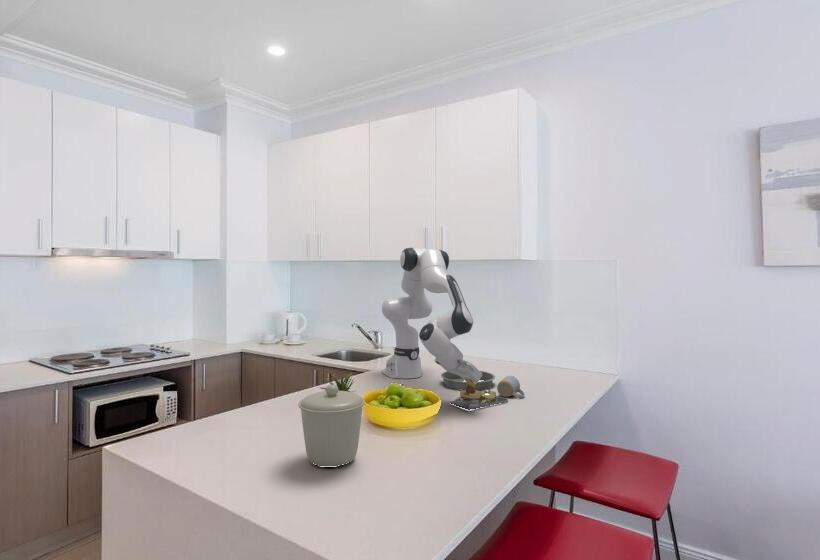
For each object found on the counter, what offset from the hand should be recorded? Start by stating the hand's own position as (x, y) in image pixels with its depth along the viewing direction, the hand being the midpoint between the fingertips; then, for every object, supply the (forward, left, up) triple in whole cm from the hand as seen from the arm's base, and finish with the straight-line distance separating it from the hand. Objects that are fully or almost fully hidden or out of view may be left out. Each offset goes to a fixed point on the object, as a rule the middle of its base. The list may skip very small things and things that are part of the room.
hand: (471, 381), depth 180 cm
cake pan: (-25, +21, -10) cm, 34 cm away
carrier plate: (0, +4, -9) cm, 10 cm away
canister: (+16, -67, -10) cm, 70 cm away
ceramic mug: (0, +23, -10) cm, 25 cm away
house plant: (-16, -48, -10) cm, 52 cm away
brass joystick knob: (0, -1, -6) cm, 6 cm away
